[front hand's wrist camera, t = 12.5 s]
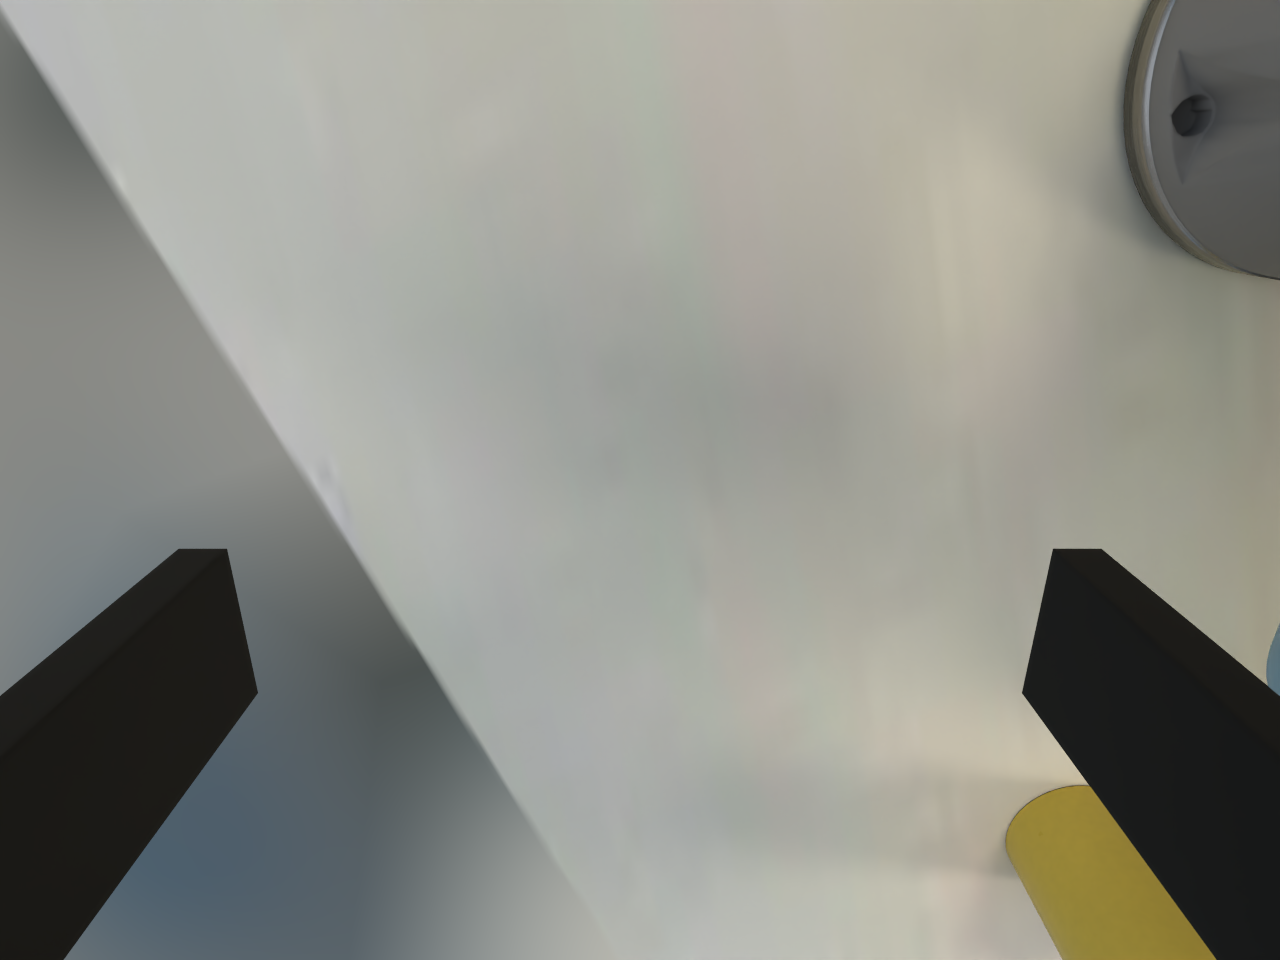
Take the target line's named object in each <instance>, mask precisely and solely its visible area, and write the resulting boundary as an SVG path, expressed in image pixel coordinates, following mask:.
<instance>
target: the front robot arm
mask: <svg viewBox="0 0 1280 960" xmlns="http://www.w3.org/2000/svg"><path fill="white" fill-rule="evenodd" d="M1124 135H1125V145H1126V152H1127V156H1128V161H1129V166H1130V170H1131V173H1132V176H1133V179H1134V182H1135V185H1136V187H1137V190H1138V192H1139V194H1140V196H1141V198H1142V201H1143V202H1144V204H1145V206H1146V207H1147V209H1148V211H1149V212H1150V214H1151V216H1152V217H1153V218H1154V220H1155V221H1156V222H1157V223H1158V225H1159V226H1160V227H1161V229H1162V230H1163V231H1164V232H1165V233H1166V234H1167V235H1168V236H1169V237H1170V238H1171V239H1172V240H1173V241H1174V242H1176V243H1177V244H1178V245H1179V246H1181V247H1182V248H1183V249H1185V250H1186V251H1187V252H1189V253H1190V254H1192V255H1194V256H1196V257H1197V258H1199V259H1201V260H1203V261H1205V262H1207V263H1209V264H1212V265H1214V266H1216V267H1219V268H1222V269H1226V270H1229V271H1232V272H1237V273H1242V274H1248V275H1253V276H1259V277H1265V278H1270V279H1276V280H1280V0H1152V1H1151V3H1150V5H1149V7H1148V10H1147V12H1146V14H1145V16H1144V19H1143V22H1142V24H1141V27H1140V30H1139V33H1138V36H1137V38H1136V41H1135V45H1134V49H1133V53H1132V56H1131V60H1130V64H1129V70H1128V75H1127V81H1126V88H1125V99H1124ZM1266 676H1267V683H1268V686H1267V685H1266V684H1265V683H1263V682H1262V681H1261V680H1260V679H1259V678H1257V677H1256V676H1255V675H1254V674H1252V673H1251V672H1250V671H1249V670H1248V669H1246V668H1245V667H1244V666H1243V665H1242V664H1240V663H1239V662H1238V661H1237V660H1236V659H1234V658H1233V657H1232V656H1231V655H1229V654H1228V653H1227V652H1226V651H1225V650H1223V649H1222V648H1221V647H1220V646H1219V645H1217V644H1216V643H1215V642H1214V641H1212V640H1211V639H1210V638H1209V637H1208V636H1206V635H1205V634H1204V633H1203V632H1202V631H1200V630H1199V629H1198V628H1197V627H1195V626H1194V625H1193V624H1192V623H1191V622H1189V621H1188V620H1187V619H1186V618H1185V617H1183V616H1182V615H1181V614H1180V613H1178V612H1177V611H1176V610H1175V609H1174V608H1172V607H1171V606H1170V605H1169V604H1168V603H1166V602H1165V601H1164V600H1163V599H1161V598H1160V597H1159V596H1158V595H1157V594H1155V593H1154V592H1153V591H1152V590H1151V589H1149V588H1148V587H1147V586H1146V585H1145V584H1143V583H1142V582H1141V581H1140V580H1138V579H1137V578H1136V577H1135V576H1134V575H1132V574H1131V573H1130V572H1129V571H1128V570H1126V569H1125V568H1124V567H1123V566H1121V565H1120V564H1119V563H1118V562H1117V561H1115V560H1114V559H1113V558H1112V557H1111V556H1109V555H1108V554H1107V553H1106V552H1104V551H1103V550H1102V549H1053V552H1052V556H1051V561H1050V565H1049V570H1048V575H1047V579H1046V584H1045V589H1044V593H1043V598H1042V603H1041V607H1040V612H1039V617H1038V621H1037V626H1036V631H1035V635H1034V640H1033V644H1032V649H1031V654H1030V658H1029V663H1028V668H1027V672H1026V677H1025V682H1024V686H1023V691H1022V694H1023V695H1024V696H1025V698H1026V699H1027V700H1028V702H1029V703H1030V705H1031V706H1032V707H1033V709H1034V710H1035V711H1036V713H1037V714H1038V716H1039V717H1040V718H1041V720H1042V721H1043V722H1044V724H1045V725H1046V726H1047V728H1048V729H1049V731H1050V732H1051V733H1052V735H1053V736H1054V737H1055V739H1056V740H1057V742H1058V743H1059V744H1060V746H1061V747H1062V748H1063V750H1064V751H1065V753H1066V754H1067V755H1068V757H1069V758H1070V759H1071V761H1072V762H1073V764H1074V765H1075V766H1076V768H1077V769H1078V770H1079V772H1080V773H1081V775H1082V776H1083V777H1084V779H1085V780H1086V781H1087V783H1088V784H1089V785H1090V787H1091V788H1092V790H1093V791H1094V792H1095V794H1096V795H1097V796H1098V798H1099V799H1100V801H1101V802H1102V803H1103V805H1104V806H1105V807H1106V809H1107V810H1108V812H1109V813H1110V814H1111V816H1112V817H1113V818H1114V820H1115V821H1116V823H1117V824H1118V825H1119V827H1120V828H1121V829H1122V831H1123V832H1124V834H1125V835H1126V836H1127V838H1128V839H1129V840H1130V842H1131V843H1132V844H1133V846H1134V847H1135V849H1136V850H1137V851H1138V853H1139V854H1140V855H1141V857H1142V858H1143V860H1144V861H1145V862H1146V864H1147V865H1148V866H1149V868H1150V869H1151V871H1152V872H1153V873H1154V875H1155V876H1156V877H1157V879H1158V880H1159V882H1160V883H1161V884H1162V886H1163V887H1164V888H1165V890H1166V891H1167V893H1168V894H1169V895H1170V897H1171V898H1172V899H1173V901H1174V902H1175V904H1176V905H1177V906H1178V908H1179V909H1180V910H1181V912H1182V913H1183V914H1184V916H1185V917H1186V919H1187V920H1188V921H1189V923H1190V924H1191V925H1192V927H1193V928H1194V930H1195V931H1196V932H1197V934H1198V935H1199V936H1200V938H1201V939H1202V941H1203V942H1204V943H1205V945H1206V946H1207V947H1208V949H1209V950H1210V952H1211V953H1212V954H1213V956H1214V957H1215V958H1216V960H1280V624H1279V626H1278V629H1277V631H1276V634H1275V637H1274V639H1273V642H1272V644H1271V647H1270V651H1269V655H1268V659H1267V671H1266ZM257 693H258V691H257V686H256V682H255V677H254V672H253V668H252V663H251V658H250V654H249V649H248V645H247V640H246V635H245V631H244V626H243V621H242V617H241V612H240V607H239V603H238V598H237V593H236V589H235V584H234V579H233V575H232V570H231V565H230V561H229V556H228V552H227V549H178V550H177V551H176V552H174V553H173V554H172V555H171V556H169V557H168V558H167V559H166V560H165V561H163V562H162V563H161V564H160V565H159V566H157V567H156V568H155V569H154V570H152V571H151V572H150V573H149V574H148V575H146V576H145V577H144V578H143V579H142V580H140V581H139V582H138V583H137V584H136V585H134V586H133V587H132V588H131V589H129V590H128V591H127V592H126V593H125V594H123V595H122V596H121V597H120V598H119V599H117V600H116V601H115V602H114V603H112V604H111V605H110V606H109V607H108V608H106V609H105V610H104V611H103V612H102V613H100V614H99V615H98V616H97V617H95V618H94V619H93V620H92V621H91V622H89V623H88V624H87V625H86V626H85V627H83V628H82V629H81V630H80V631H78V632H77V633H76V634H75V635H74V636H72V637H71V638H70V639H69V640H68V641H66V642H65V643H64V644H63V645H62V646H60V647H59V648H58V649H57V650H55V651H54V652H53V653H52V654H51V655H49V656H48V657H47V658H46V659H45V660H43V661H42V662H41V663H40V664H38V665H37V666H36V667H35V668H34V669H32V670H31V671H30V672H29V673H28V674H26V675H25V676H24V677H23V678H21V679H20V680H19V681H18V682H17V683H15V684H14V685H13V686H12V687H11V688H9V689H8V690H7V691H6V692H5V693H3V694H2V695H1V696H0V960H64V958H65V957H66V956H67V954H68V953H69V951H70V950H71V949H72V947H73V946H74V945H75V943H76V942H77V941H78V939H79V938H80V936H81V935H82V934H83V932H84V931H85V930H86V928H87V927H88V925H89V924H90V923H91V921H92V920H93V919H94V917H95V916H96V914H97V913H98V912H99V910H100V909H101V908H102V906H103V905H104V903H105V902H106V901H107V899H108V898H109V897H110V895H111V894H112V893H113V891H114V890H115V888H116V887H117V886H118V884H119V883H120V882H121V880H122V879H123V877H124V876H125V875H126V873H127V872H128V871H129V869H130V868H131V866H132V865H133V864H134V862H135V861H136V860H137V858H138V857H139V855H140V854H141V853H142V851H143V850H144V848H145V847H146V846H147V844H148V843H149V842H150V840H151V839H152V838H153V836H154V835H155V833H156V832H157V831H158V829H159V828H160V827H161V825H162V824H163V823H164V821H165V820H166V818H167V817H168V816H169V814H170V813H171V811H172V810H173V809H174V807H175V806H176V805H177V803H178V802H179V801H180V799H181V798H182V796H183V795H184V794H185V792H186V791H187V790H188V788H189V787H190V785H191V784H192V783H193V781H194V780H195V779H196V777H197V776H198V775H199V773H200V772H201V770H202V769H203V768H204V766H205V765H206V763H207V762H208V761H209V759H210V758H211V757H212V755H213V754H214V753H215V751H216V750H217V748H218V747H219V746H220V744H221V743H222V742H223V740H224V739H225V737H226V736H227V735H228V733H229V732H230V731H231V729H232V728H233V726H234V725H235V724H236V722H237V721H238V720H239V718H240V717H241V716H242V714H243V713H244V711H245V710H246V709H247V707H248V706H249V705H250V703H251V702H252V700H253V699H254V698H255V696H256V695H257Z"/></svg>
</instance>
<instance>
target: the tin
mask: <svg viewBox="0 0 1280 960" xmlns="http://www.w3.org/2000/svg"><path fill="white" fill-rule="evenodd" d="M1006 850H1007V854H1008V856H1009V859H1010V861H1011V862H1012V864H1013V866H1014V868H1015V870H1016V872H1017V874H1018V876H1019V878H1020V880H1021V882H1022V883H1023V885H1024V887H1025V889H1026V891H1027V893H1028V895H1029V897H1030V899H1031V901H1032V902H1033V904H1034V906H1035V908H1036V910H1037V912H1038V914H1039V916H1040V918H1041V920H1042V921H1043V923H1044V925H1045V927H1046V929H1047V931H1048V933H1049V935H1050V937H1051V939H1052V941H1053V942H1054V944H1055V946H1056V948H1057V950H1058V952H1059V954H1060V956H1061V958H1062V960H1216V958H1215V957H1214V956H1213V954H1212V953H1211V952H1210V950H1209V949H1208V947H1207V946H1206V945H1205V943H1204V942H1203V941H1202V939H1201V938H1200V936H1199V935H1198V934H1197V932H1196V931H1195V930H1194V928H1193V927H1192V925H1191V924H1190V923H1189V921H1188V920H1187V919H1186V917H1185V916H1184V914H1183V913H1182V912H1181V910H1180V909H1179V908H1178V906H1177V905H1176V904H1175V902H1174V901H1173V899H1172V898H1171V897H1170V895H1169V894H1168V893H1167V891H1166V890H1165V888H1164V887H1163V886H1162V884H1161V883H1160V882H1159V880H1158V879H1157V877H1156V876H1155V875H1154V873H1153V872H1152V871H1151V869H1150V868H1149V866H1148V865H1147V864H1146V862H1145V861H1144V860H1143V858H1142V857H1141V855H1140V854H1139V853H1138V851H1137V850H1136V849H1135V847H1134V846H1133V844H1132V843H1131V842H1130V840H1129V839H1128V838H1127V836H1126V835H1125V834H1124V832H1123V831H1122V829H1121V828H1120V827H1119V825H1118V824H1117V823H1116V821H1115V820H1114V818H1113V817H1112V816H1111V814H1110V813H1109V812H1108V810H1107V809H1106V807H1105V806H1104V805H1103V803H1102V802H1101V801H1100V799H1099V798H1098V796H1097V795H1096V794H1095V792H1094V791H1093V790H1092V788H1091V787H1090V786H1072V787H1065V788H1061V789H1057V790H1054V791H1051V792H1048V793H1046V794H1044V795H1041V796H1040V797H1038V798H1036V799H1034V800H1033V801H1031V802H1030V803H1029V804H1027V805H1026V806H1025V807H1024V808H1023V809H1022V810H1021V811H1020V812H1019V813H1018V814H1017V815H1016V816H1015V818H1014V819H1013V821H1012V822H1011V824H1010V826H1009V829H1008V832H1007V836H1006Z"/></svg>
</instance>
